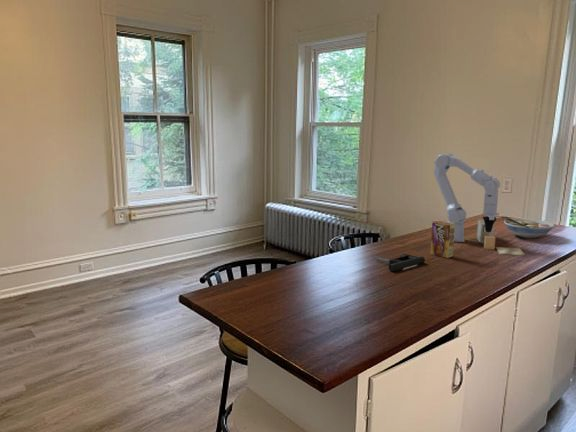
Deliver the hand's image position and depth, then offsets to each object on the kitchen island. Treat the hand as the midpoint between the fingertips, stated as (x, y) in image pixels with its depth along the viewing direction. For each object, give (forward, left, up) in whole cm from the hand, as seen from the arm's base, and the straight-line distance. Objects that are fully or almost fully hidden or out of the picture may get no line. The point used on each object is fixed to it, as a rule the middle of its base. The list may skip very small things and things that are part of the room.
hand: (488, 231), depth 208 cm
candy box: (-22, -24, -7) cm, 33 cm away
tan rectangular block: (0, -6, -6) cm, 9 cm away
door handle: (-40, -41, -7) cm, 58 cm away
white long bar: (0, +10, 0) cm, 10 cm away
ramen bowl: (+22, +22, -7) cm, 32 cm away
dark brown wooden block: (0, +9, -6) cm, 11 cm away
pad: (+8, -11, -6) cm, 15 cm away
